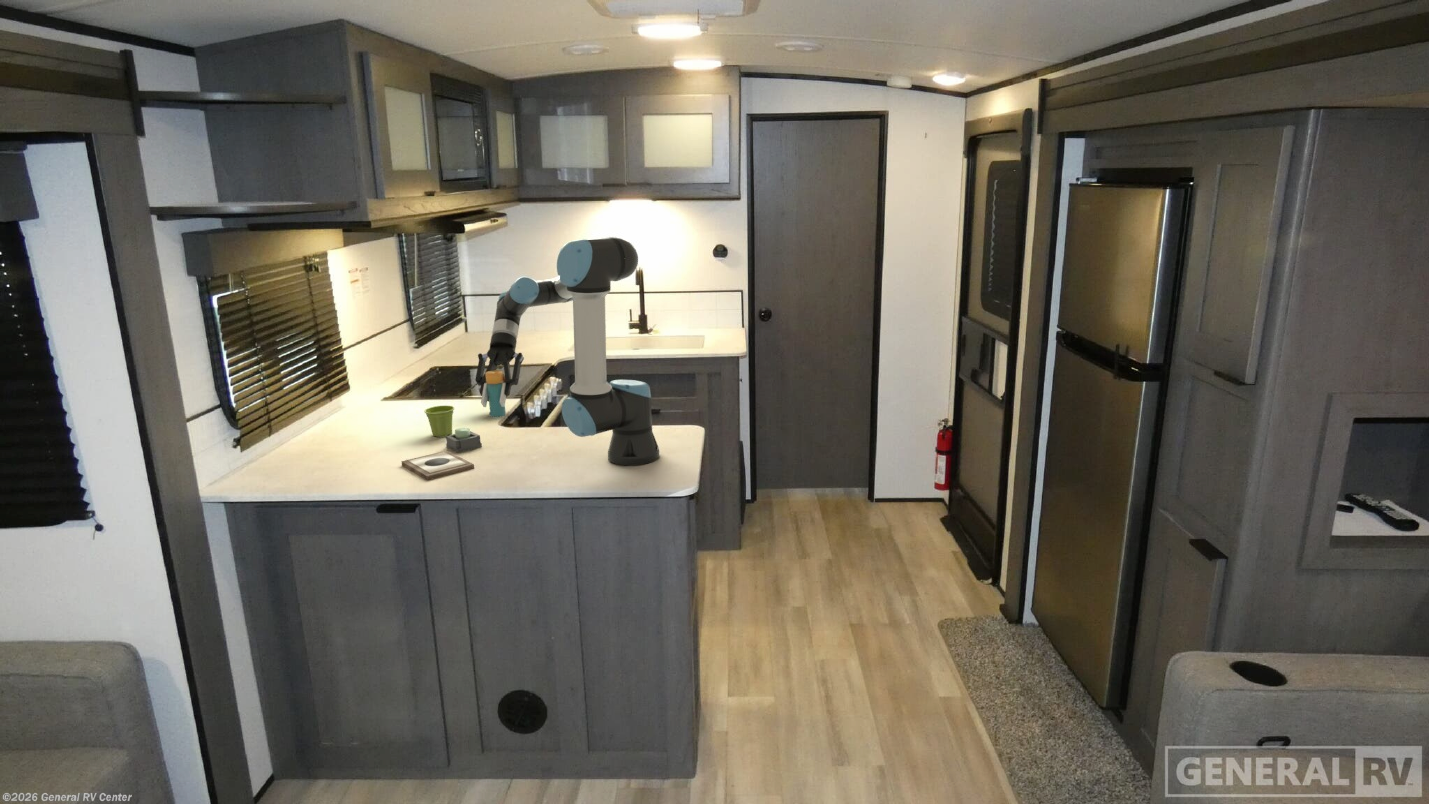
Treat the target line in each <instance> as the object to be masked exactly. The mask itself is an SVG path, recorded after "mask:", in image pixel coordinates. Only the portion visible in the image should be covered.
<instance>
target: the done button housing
mask: <svg viewBox="0 0 1429 804" xmlns="http://www.w3.org/2000/svg"><path fill="white" fill-rule="evenodd" d="M445 439H446V443H445V446H446V448H448V449H449V450H451V451H454V452H456V453H461V452H462V453H463V452H467V451H470V450H474V449H478V448H482V446H483V445H482V442H481V435H480V434H477V433H476V432H473V431H470V437H468V438H464V439H460V440H458V439H456V436H455V433H452V434H450V435H449V434H448V435H447V436H445Z"/></svg>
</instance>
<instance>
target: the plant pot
mask: <svg viewBox="0 0 1429 804" xmlns="http://www.w3.org/2000/svg"><path fill="white" fill-rule="evenodd" d="M454 410H455V406H453V405H447V404H446V405H437V406H432V407H428V408H426V409H425V410H424V414H426V417H427V419H428V422H429V426H430V429H431V433H432V436H433V437H437V438H441V437H442V438H443V437H446V436H449V435H452V434H453V414H454Z"/></svg>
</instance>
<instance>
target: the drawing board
mask: <svg viewBox="0 0 1429 804" xmlns="http://www.w3.org/2000/svg"><path fill="white" fill-rule="evenodd" d="M400 463H401V466H402V467H404V468H406V469H408V470H409V471H410V472H413V473H415V475H418V476H420V477H422V478H423V479H425V480H427V481H429V480H434V479H436V478H437V479H438V478H441V477H445V476H448V475H453V474H456V473H461V472H465V471H467V470H472V469H474V468H475V465H474V463H473V462H470V461H468V460H467V459H465V458H463V457H460V456H459V455H457V454H454V453H452V452H450V451H449V450H443V451H438V452H435V453H431V454H426V455H422V456H418V457H414V458H410V459H406V460H405V459H404V460H401V462H400Z"/></svg>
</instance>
